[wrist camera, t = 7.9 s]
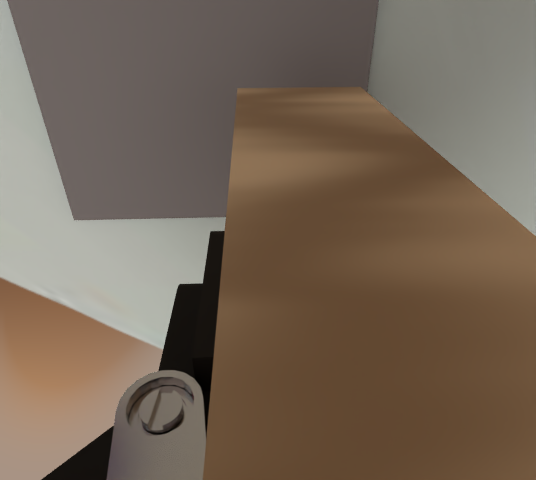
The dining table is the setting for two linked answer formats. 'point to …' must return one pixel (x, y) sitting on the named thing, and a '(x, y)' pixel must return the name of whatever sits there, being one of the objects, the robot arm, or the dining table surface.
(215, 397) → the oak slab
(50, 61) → the mat
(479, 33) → the dining table surface
